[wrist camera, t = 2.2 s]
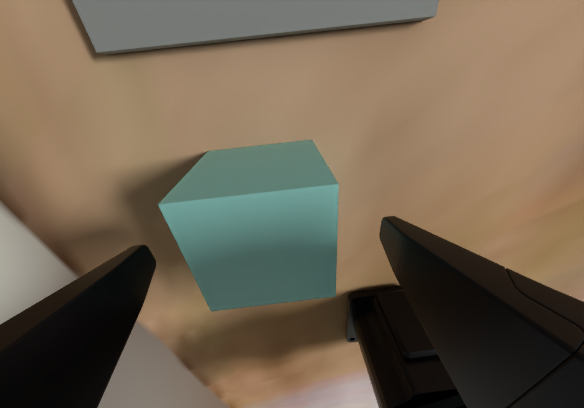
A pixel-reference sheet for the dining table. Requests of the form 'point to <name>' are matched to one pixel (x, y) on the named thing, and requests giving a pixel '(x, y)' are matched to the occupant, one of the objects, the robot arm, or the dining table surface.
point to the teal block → (258, 224)
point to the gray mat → (231, 19)
